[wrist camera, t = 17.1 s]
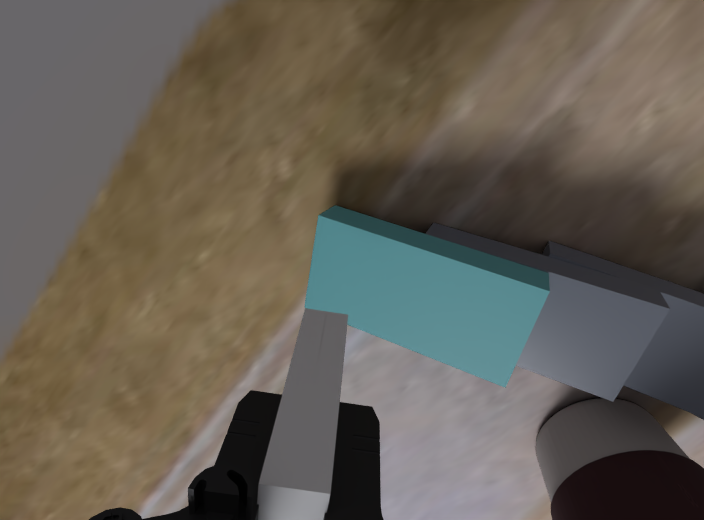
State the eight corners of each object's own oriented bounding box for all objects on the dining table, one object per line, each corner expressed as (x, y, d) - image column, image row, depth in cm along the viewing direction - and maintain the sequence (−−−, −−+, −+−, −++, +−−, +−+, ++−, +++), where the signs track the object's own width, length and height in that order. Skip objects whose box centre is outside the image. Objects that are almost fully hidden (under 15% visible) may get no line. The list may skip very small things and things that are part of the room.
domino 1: (304, 307, 21) (505, 387, 18) (318, 215, 19) (549, 291, 16) (320, 292, 23) (507, 364, 20) (335, 205, 20) (548, 273, 18)
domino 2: (401, 322, 21) (613, 401, 19) (425, 233, 19) (670, 309, 16) (410, 306, 23) (607, 377, 20) (433, 222, 21) (658, 289, 18)
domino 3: (507, 338, 21) (725, 426, 19) (550, 253, 19) (804, 342, 17) (508, 321, 23) (710, 400, 21) (549, 240, 21) (781, 320, 18)
